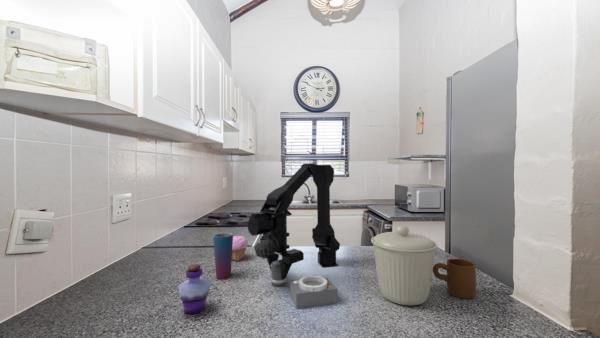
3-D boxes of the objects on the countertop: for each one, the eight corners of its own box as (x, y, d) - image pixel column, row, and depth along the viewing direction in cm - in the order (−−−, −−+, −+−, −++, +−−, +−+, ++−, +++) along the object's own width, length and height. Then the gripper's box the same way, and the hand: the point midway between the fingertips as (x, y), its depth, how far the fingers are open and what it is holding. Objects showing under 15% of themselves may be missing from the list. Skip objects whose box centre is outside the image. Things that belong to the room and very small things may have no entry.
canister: (368, 306, 73) (367, 230, 73) (374, 280, 90) (373, 218, 90) (442, 319, 67) (441, 235, 67) (433, 288, 84) (432, 221, 84)
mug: (438, 299, 77) (438, 266, 77) (428, 287, 85) (427, 257, 85) (481, 300, 76) (481, 267, 76) (467, 288, 84) (467, 258, 84)
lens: (284, 280, 92) (284, 259, 92) (287, 286, 87) (287, 264, 87) (270, 281, 90) (269, 260, 90) (272, 288, 86) (271, 265, 86)
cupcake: (222, 260, 112) (221, 236, 112) (237, 254, 120) (237, 232, 120) (236, 264, 107) (236, 239, 107) (251, 258, 115) (251, 235, 115)
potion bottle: (200, 298, 79) (200, 258, 79) (217, 308, 73) (217, 264, 73) (171, 310, 72) (171, 266, 72) (187, 322, 67) (186, 274, 67)
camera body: (327, 290, 83) (327, 273, 83) (337, 302, 75) (337, 284, 75) (290, 295, 80) (290, 277, 80) (296, 308, 72) (296, 289, 73)
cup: (236, 273, 98) (235, 232, 98) (229, 281, 91) (229, 237, 91) (218, 272, 99) (217, 232, 99) (210, 280, 92) (209, 237, 92)
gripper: (242, 229, 90) (242, 276, 90) (277, 239, 76) (277, 294, 76) (268, 224, 97) (268, 267, 97) (304, 233, 84) (305, 282, 84)
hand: (278, 277), depth 89 cm, fingers closed on lens, 5 cm apart
